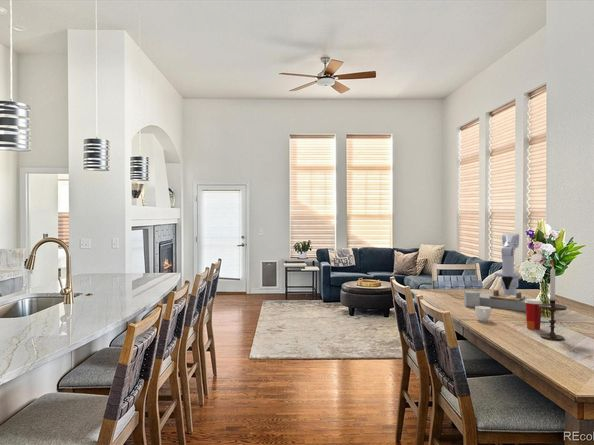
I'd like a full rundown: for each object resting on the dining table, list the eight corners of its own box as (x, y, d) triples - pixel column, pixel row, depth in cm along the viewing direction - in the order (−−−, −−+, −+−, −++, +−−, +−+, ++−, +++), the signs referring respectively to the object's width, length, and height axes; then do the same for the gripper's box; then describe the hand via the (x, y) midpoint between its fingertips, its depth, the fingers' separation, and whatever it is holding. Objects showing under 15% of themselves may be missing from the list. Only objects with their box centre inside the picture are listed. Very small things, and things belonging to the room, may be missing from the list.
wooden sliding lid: (497, 294, 286) (497, 288, 286) (510, 296, 280) (510, 290, 280) (489, 297, 274) (489, 291, 274) (502, 299, 269) (502, 293, 269)
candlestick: (533, 334, 208) (534, 258, 208) (558, 335, 208) (558, 258, 207) (546, 341, 197) (546, 260, 197) (571, 341, 197) (572, 260, 196)
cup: (489, 319, 240) (489, 306, 240) (493, 323, 230) (493, 310, 230) (474, 318, 242) (474, 305, 242) (476, 322, 232) (476, 309, 232)
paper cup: (540, 327, 222) (541, 299, 222) (543, 331, 214) (544, 301, 214) (523, 326, 224) (523, 298, 224) (525, 329, 217) (525, 300, 217)
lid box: (484, 301, 291) (484, 293, 291) (539, 308, 270) (539, 299, 270) (475, 304, 279) (475, 296, 279) (532, 312, 258) (532, 303, 258)
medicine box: (477, 305, 277) (477, 291, 277) (479, 307, 272) (479, 292, 272) (464, 305, 277) (464, 291, 277) (466, 307, 273) (466, 292, 273)
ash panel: (511, 296, 280) (511, 290, 280) (525, 297, 275) (525, 291, 275) (503, 299, 269) (503, 293, 269) (517, 301, 264) (517, 294, 264)
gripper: (492, 266, 276) (492, 288, 276) (518, 268, 267) (518, 291, 267) (496, 265, 282) (496, 287, 282) (521, 267, 272) (521, 290, 272)
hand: (507, 289), depth 275 cm, fingers closed
